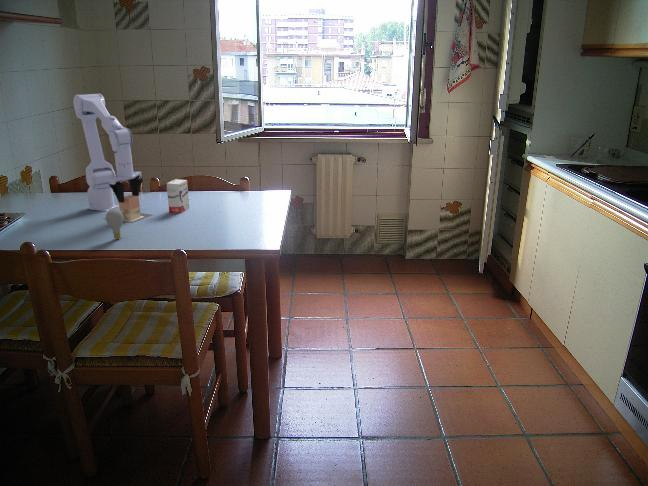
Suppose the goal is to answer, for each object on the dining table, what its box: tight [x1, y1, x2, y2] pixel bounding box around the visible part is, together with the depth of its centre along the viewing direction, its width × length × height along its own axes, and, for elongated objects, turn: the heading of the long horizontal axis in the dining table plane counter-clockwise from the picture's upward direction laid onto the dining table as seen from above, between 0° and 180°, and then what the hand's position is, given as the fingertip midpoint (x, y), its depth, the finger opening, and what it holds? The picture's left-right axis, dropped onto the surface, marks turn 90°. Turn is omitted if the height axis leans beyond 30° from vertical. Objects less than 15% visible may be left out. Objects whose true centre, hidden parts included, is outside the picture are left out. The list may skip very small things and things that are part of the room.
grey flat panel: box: [103, 212, 153, 224], centre depth 203 cm, size 14×12×1 cm
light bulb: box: [105, 209, 124, 240], centre depth 177 cm, size 5×5×10 cm
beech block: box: [119, 206, 141, 220], centre depth 201 cm, size 5×5×4 cm
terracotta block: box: [118, 194, 141, 210], centre depth 200 cm, size 5×5×4 cm
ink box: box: [166, 178, 190, 214], centre depth 210 cm, size 9×5×12 cm, turn 169°
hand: (128, 199), depth 199 cm, fingers open, 7 cm apart
